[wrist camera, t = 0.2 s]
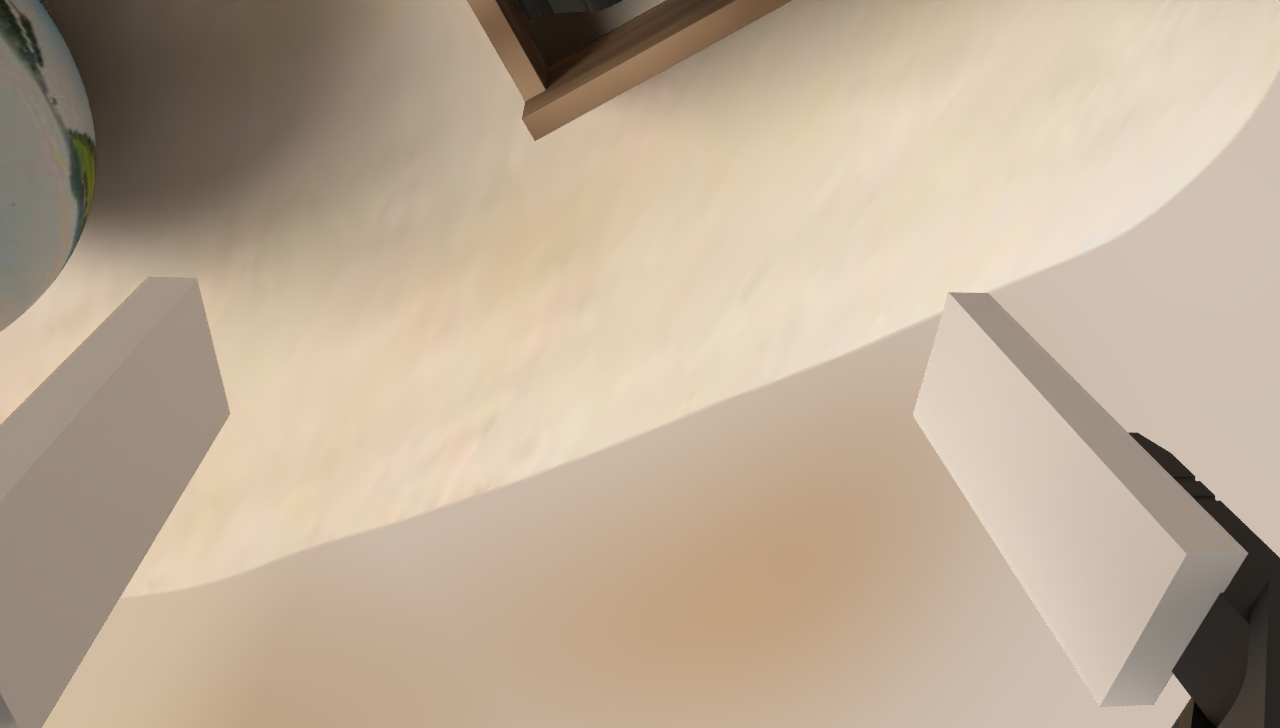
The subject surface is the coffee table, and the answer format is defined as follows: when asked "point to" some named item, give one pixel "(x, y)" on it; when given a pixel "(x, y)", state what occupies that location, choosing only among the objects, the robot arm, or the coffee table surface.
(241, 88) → the coffee table surface
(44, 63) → the decorative sphere
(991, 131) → the coffee table surface
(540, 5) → the sign
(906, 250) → the coffee table surface
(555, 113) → the tray
